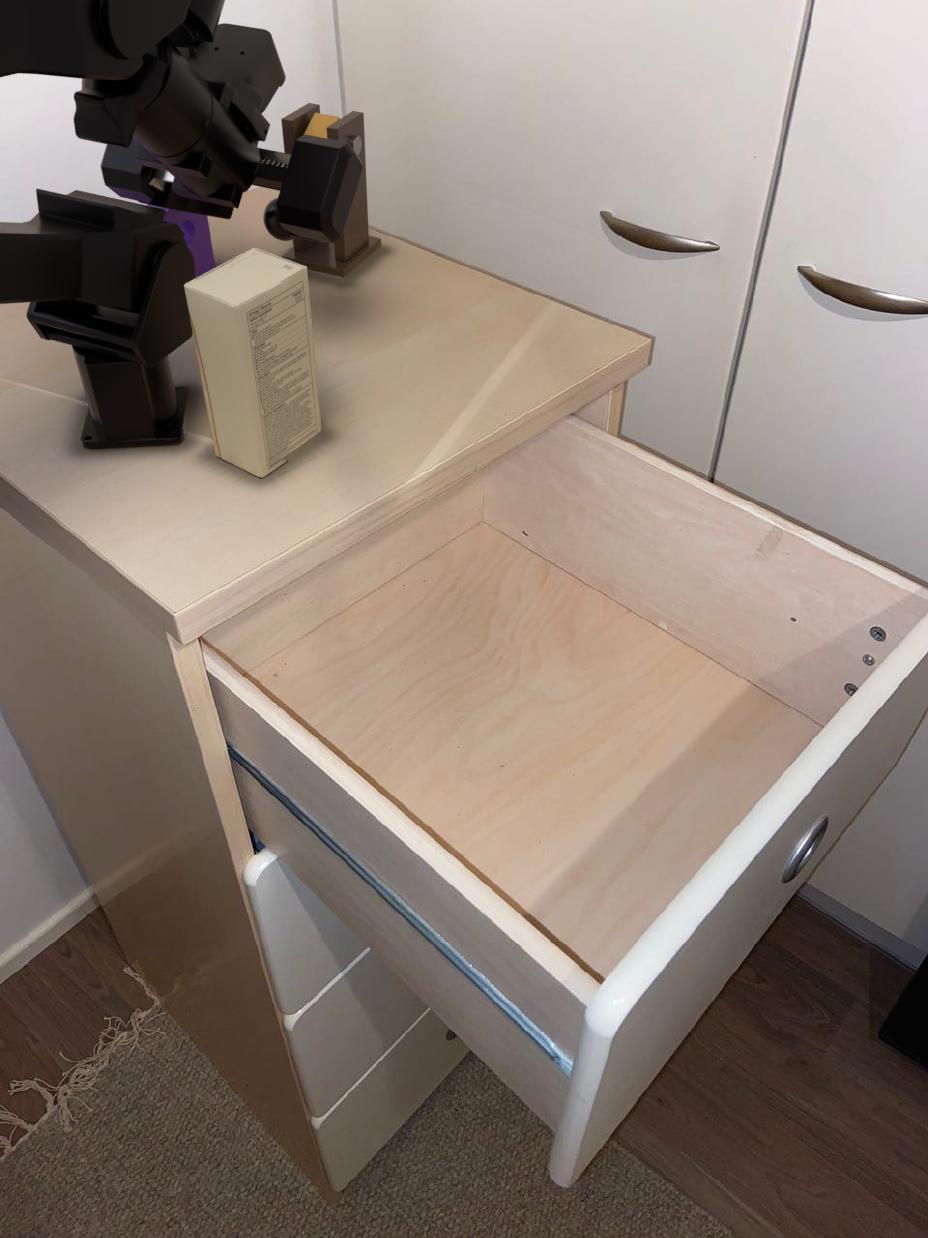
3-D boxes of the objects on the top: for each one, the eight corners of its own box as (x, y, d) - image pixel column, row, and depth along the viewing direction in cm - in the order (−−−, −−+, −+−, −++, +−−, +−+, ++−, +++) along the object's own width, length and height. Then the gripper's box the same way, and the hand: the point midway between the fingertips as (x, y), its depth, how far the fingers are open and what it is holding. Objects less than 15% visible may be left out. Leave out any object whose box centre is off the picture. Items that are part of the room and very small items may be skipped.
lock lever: (300, 253, 77) (286, 224, 74) (265, 245, 78) (250, 216, 75) (354, 144, 80) (343, 113, 77) (319, 138, 81) (307, 106, 78)
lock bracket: (344, 283, 82) (335, 135, 74) (282, 269, 84) (266, 122, 76) (381, 251, 87) (376, 108, 79) (322, 238, 89) (311, 96, 80)
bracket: (216, 272, 83) (203, 190, 78) (165, 305, 79) (148, 221, 74) (103, 242, 87) (84, 162, 82) (49, 273, 82) (25, 190, 77)
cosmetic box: (276, 415, 68) (255, 244, 59) (325, 437, 66) (311, 264, 58) (211, 458, 64) (178, 282, 56) (262, 482, 62) (236, 304, 54)
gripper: (342, 6, 58) (420, 143, 74) (87, -31, 63) (209, 105, 78) (287, 186, 59) (376, 286, 74) (37, 135, 64) (169, 238, 79)
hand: (281, 223), depth 76 cm, fingers open, 9 cm apart
